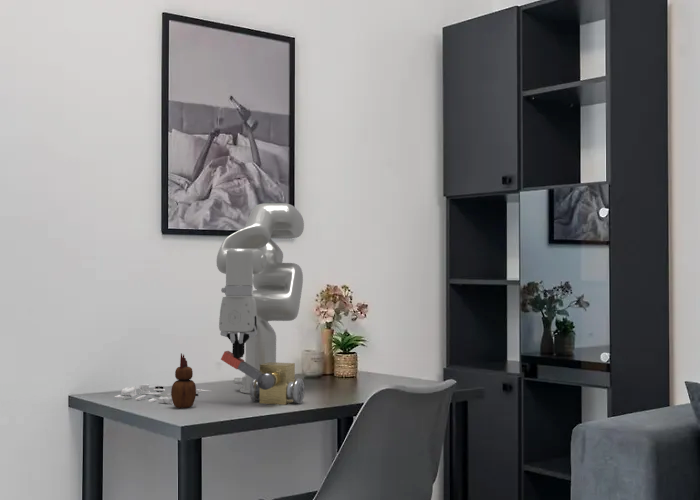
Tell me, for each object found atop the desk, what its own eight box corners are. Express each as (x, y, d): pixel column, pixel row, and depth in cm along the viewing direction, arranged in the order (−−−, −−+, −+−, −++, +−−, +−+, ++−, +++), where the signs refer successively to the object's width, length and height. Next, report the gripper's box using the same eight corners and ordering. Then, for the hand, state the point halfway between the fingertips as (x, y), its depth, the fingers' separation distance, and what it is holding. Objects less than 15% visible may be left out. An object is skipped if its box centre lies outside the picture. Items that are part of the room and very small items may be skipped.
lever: (267, 392, 247) (218, 362, 252) (271, 391, 250) (223, 361, 254) (274, 378, 247) (225, 348, 251) (278, 377, 250) (230, 347, 254)
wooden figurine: (182, 409, 241) (182, 354, 242) (167, 407, 245) (167, 353, 245) (199, 406, 247) (200, 352, 247) (184, 404, 250) (185, 351, 251)
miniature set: (217, 399, 256) (186, 411, 246) (134, 397, 276) (103, 408, 266) (213, 378, 256) (183, 389, 246) (130, 376, 276) (99, 386, 266)
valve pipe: (245, 404, 252) (246, 365, 253) (259, 399, 262) (259, 361, 262) (292, 406, 248) (292, 366, 249) (304, 401, 258) (304, 363, 258)
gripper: (209, 292, 250) (208, 357, 250) (258, 292, 246) (258, 359, 246) (220, 291, 258) (219, 355, 257) (268, 292, 253) (268, 357, 253)
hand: (238, 357), depth 251 cm, fingers closed
